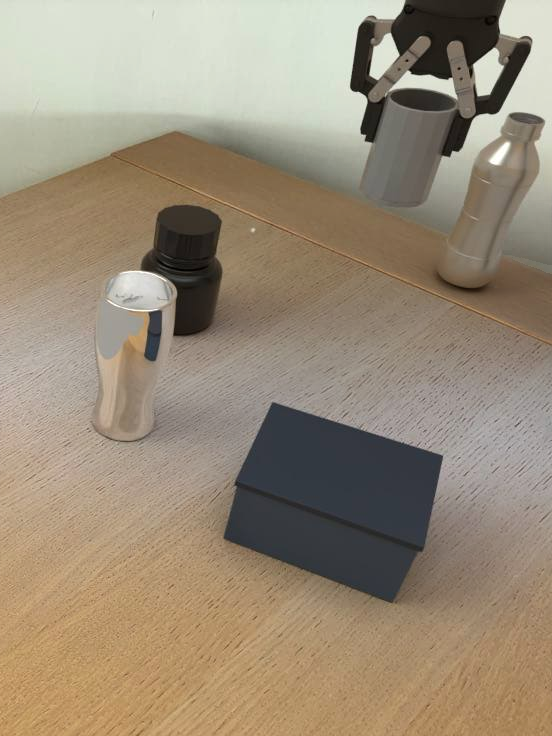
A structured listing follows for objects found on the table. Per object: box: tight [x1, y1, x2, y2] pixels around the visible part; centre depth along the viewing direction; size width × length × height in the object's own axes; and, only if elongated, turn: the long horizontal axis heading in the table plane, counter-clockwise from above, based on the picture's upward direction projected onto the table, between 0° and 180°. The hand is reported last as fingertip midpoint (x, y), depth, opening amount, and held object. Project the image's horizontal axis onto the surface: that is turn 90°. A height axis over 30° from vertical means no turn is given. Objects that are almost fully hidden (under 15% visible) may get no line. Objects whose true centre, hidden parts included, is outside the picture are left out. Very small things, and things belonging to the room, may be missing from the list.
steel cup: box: [359, 87, 459, 209], centre depth 77 cm, size 6×6×9 cm
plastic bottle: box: [436, 111, 546, 289], centre depth 94 cm, size 6×7×20 cm
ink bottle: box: [139, 204, 224, 335], centre depth 91 cm, size 10×9×12 cm
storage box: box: [223, 401, 444, 604], centre depth 68 cm, size 14×11×7 cm
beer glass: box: [91, 269, 177, 442], centre depth 76 cm, size 7×7×15 cm
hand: (407, 145), depth 77 cm, fingers closed on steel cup, 6 cm apart
